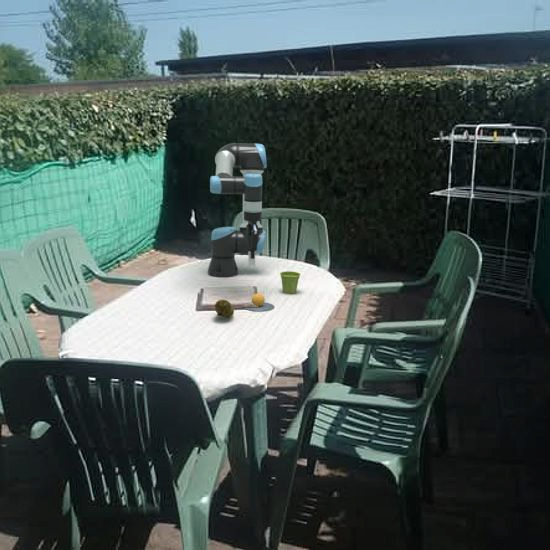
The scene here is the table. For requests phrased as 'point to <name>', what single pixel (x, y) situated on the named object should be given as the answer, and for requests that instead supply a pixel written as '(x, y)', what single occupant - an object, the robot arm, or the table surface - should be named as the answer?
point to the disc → (262, 308)
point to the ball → (258, 299)
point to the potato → (224, 308)
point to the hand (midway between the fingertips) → (251, 265)
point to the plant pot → (289, 281)
